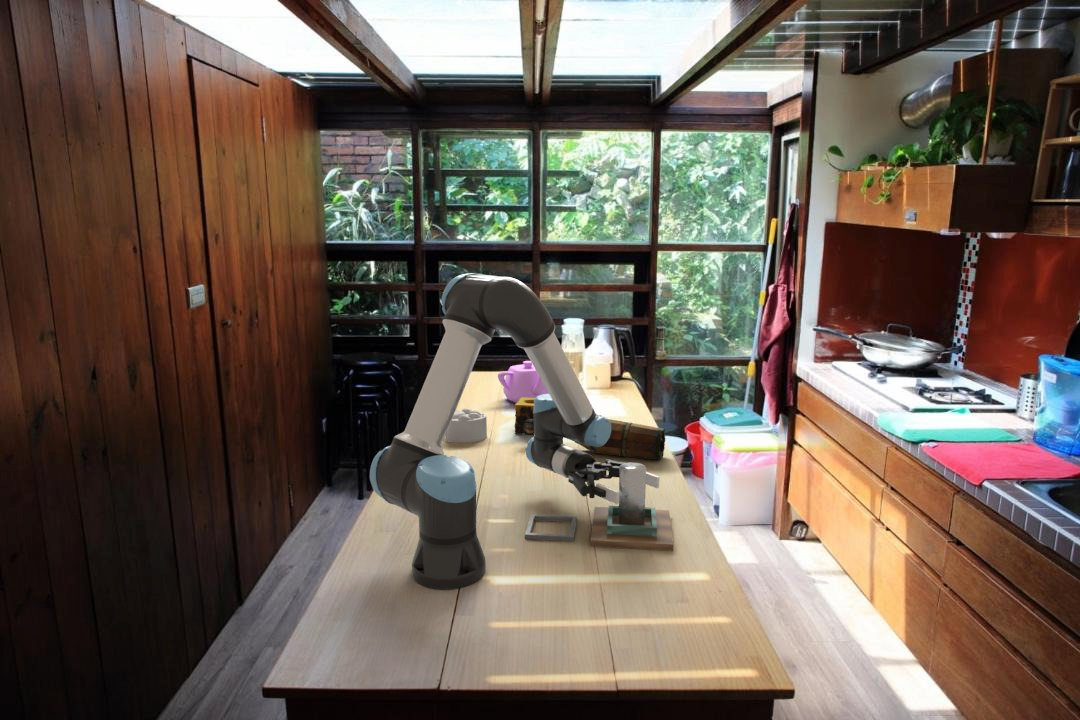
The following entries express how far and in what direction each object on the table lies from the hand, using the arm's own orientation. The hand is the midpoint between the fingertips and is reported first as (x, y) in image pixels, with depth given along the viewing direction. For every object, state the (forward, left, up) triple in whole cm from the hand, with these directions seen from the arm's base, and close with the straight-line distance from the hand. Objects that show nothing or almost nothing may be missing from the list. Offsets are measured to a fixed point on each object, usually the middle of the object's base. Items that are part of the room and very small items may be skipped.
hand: (638, 490), depth 167 cm
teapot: (+109, +40, -11) cm, 116 cm away
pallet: (+1, +1, -10) cm, 11 cm away
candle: (+73, +34, -11) cm, 81 cm away
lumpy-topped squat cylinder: (+63, +54, -11) cm, 84 cm away
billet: (+1, +1, -9) cm, 9 cm away
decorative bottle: (+54, +14, -11) cm, 57 cm away
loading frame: (0, +20, -10) cm, 23 cm away
